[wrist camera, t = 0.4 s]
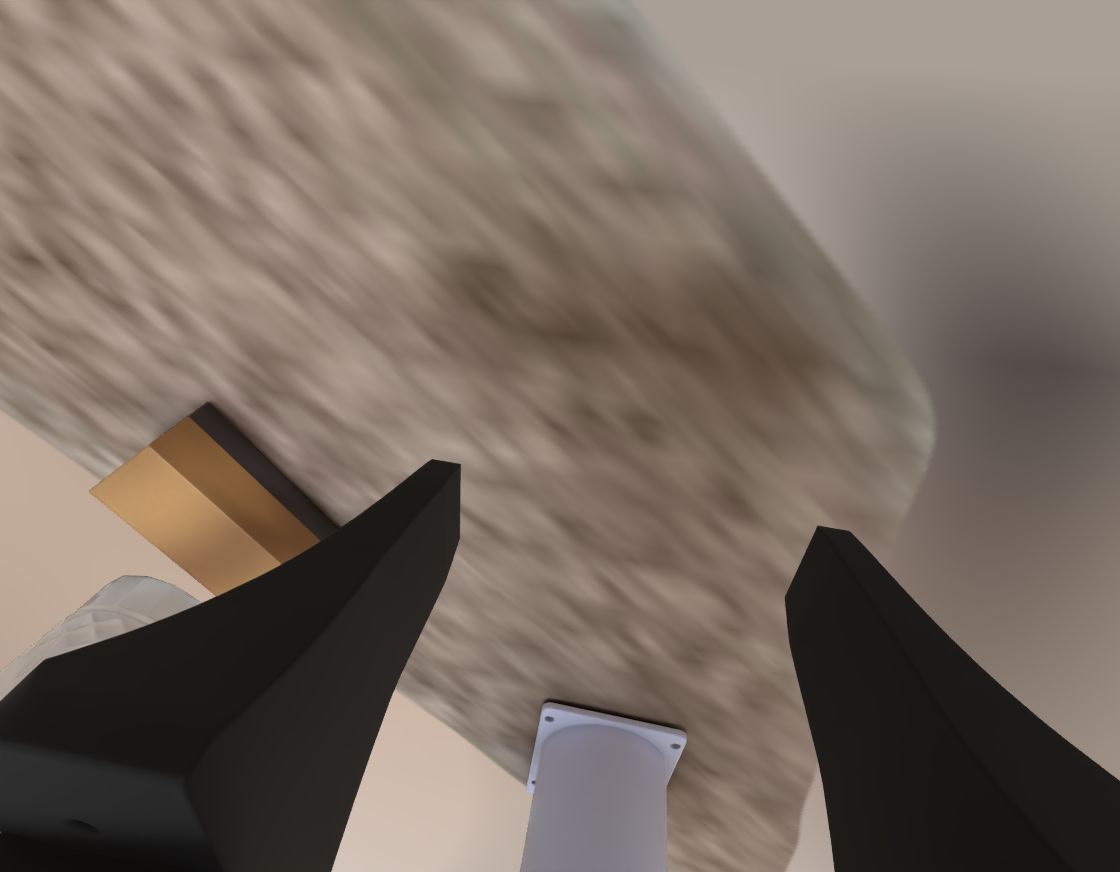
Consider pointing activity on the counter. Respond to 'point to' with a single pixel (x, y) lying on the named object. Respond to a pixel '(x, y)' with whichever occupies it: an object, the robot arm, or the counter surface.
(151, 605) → the white cup
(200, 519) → the scrub brush
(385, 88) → the counter surface
